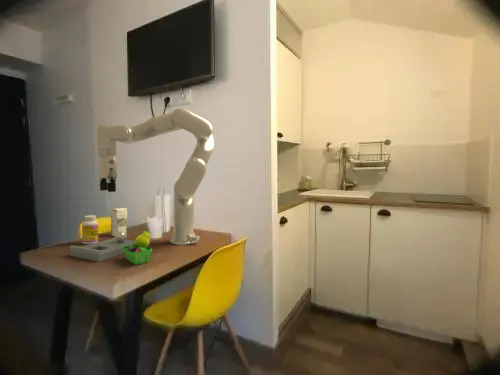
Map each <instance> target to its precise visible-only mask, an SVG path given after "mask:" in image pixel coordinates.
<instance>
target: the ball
mask: <svg viewBox="0 0 500 375" xmlns="http://www.w3.org/2000/svg"><path fill="white" fill-rule="evenodd" d="M114 238H115V239H116V241H118V242H123V241H124V240H127V235H126V233H125V232H123V231H119V232H117V233H116V235H115V236H114Z"/></svg>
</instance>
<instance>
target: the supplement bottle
mask: <svg viewBox="0 0 500 375" xmlns="http://www.w3.org/2000/svg"><path fill="white" fill-rule="evenodd" d="M96 218H97V215H95V214H94V215H93V214H91V215H84V221H83V222H82V224H81V243H82V244H83V245H90V244H94V243H97V242H99V222H98V220H97V219H96Z"/></svg>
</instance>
